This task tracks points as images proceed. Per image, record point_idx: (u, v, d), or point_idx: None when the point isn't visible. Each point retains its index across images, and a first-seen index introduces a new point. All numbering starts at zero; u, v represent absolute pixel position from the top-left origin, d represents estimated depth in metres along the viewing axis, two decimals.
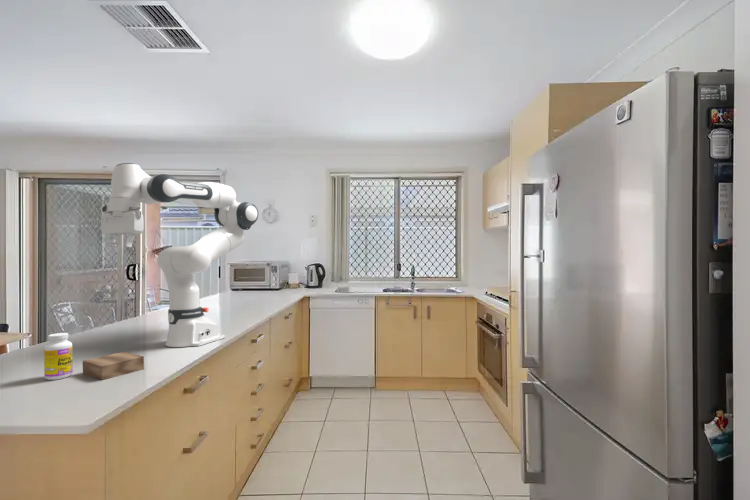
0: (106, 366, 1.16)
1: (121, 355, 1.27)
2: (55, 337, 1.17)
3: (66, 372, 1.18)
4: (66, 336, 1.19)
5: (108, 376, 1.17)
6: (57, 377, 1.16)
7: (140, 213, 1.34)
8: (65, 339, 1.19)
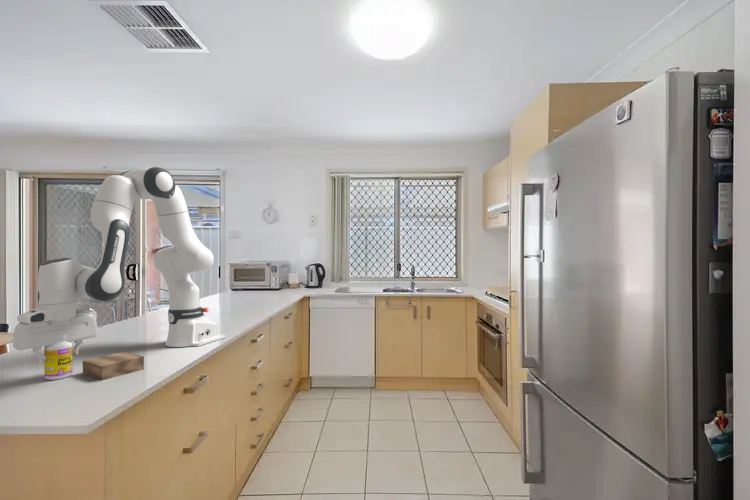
0: (106, 366, 1.16)
1: (121, 355, 1.27)
2: (55, 337, 1.17)
3: (66, 372, 1.18)
4: (66, 336, 1.19)
5: (108, 376, 1.17)
6: (57, 377, 1.16)
7: None
8: None
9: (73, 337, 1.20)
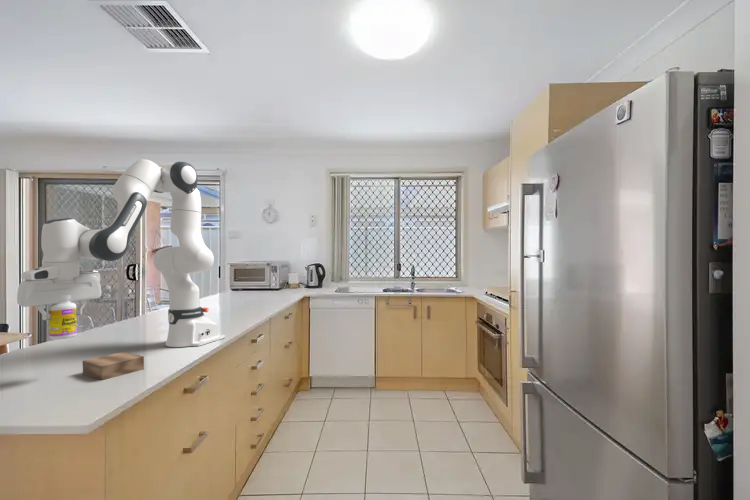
0: (106, 366, 1.16)
1: (121, 355, 1.27)
2: (59, 297, 1.17)
3: (70, 332, 1.18)
4: (70, 297, 1.19)
5: (108, 376, 1.17)
6: (61, 337, 1.17)
7: None
8: None
9: (77, 297, 1.21)
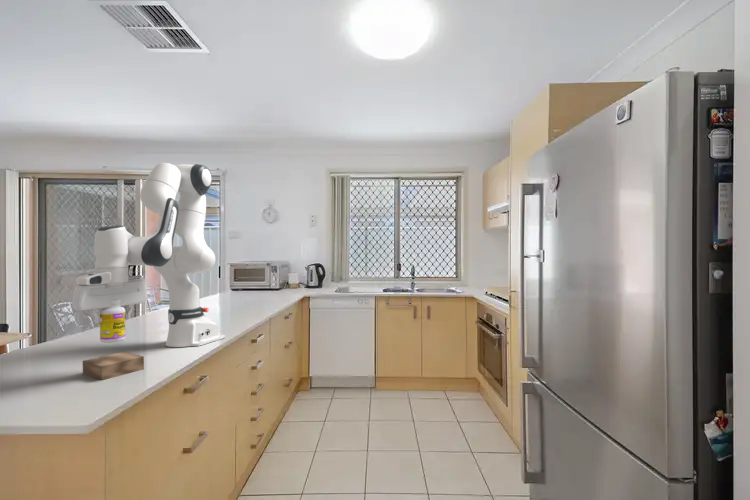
0: (106, 366, 1.16)
1: (121, 355, 1.27)
2: (110, 302, 1.21)
3: (120, 336, 1.22)
4: (120, 301, 1.23)
5: (108, 376, 1.17)
6: (112, 340, 1.21)
7: None
8: (119, 304, 1.23)
9: (126, 301, 1.25)
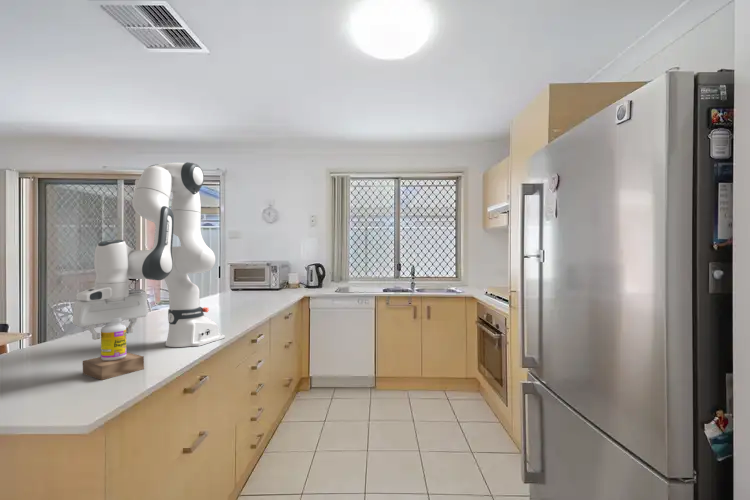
0: (106, 366, 1.16)
1: None
2: (111, 320, 1.21)
3: (121, 354, 1.22)
4: (121, 319, 1.24)
5: (108, 376, 1.17)
6: (113, 358, 1.21)
7: None
8: (120, 322, 1.23)
9: (126, 316, 1.25)
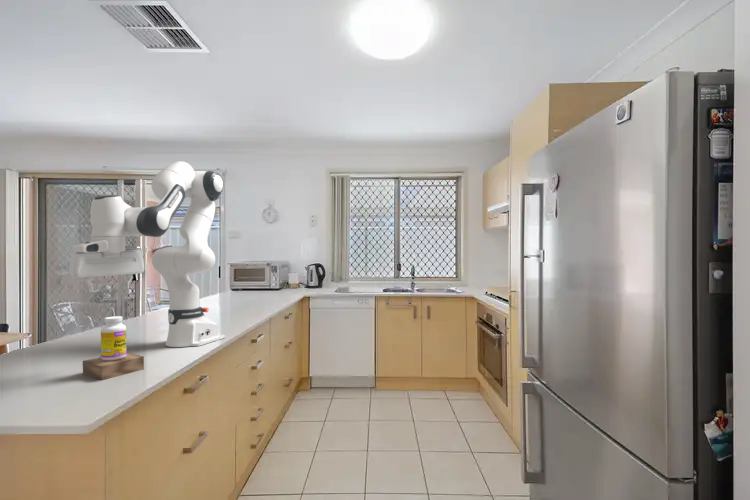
0: (106, 366, 1.16)
1: None
2: (111, 320, 1.21)
3: (121, 354, 1.22)
4: (121, 319, 1.24)
5: (108, 376, 1.17)
6: (113, 358, 1.21)
7: None
8: (120, 322, 1.23)
9: (123, 271, 1.26)
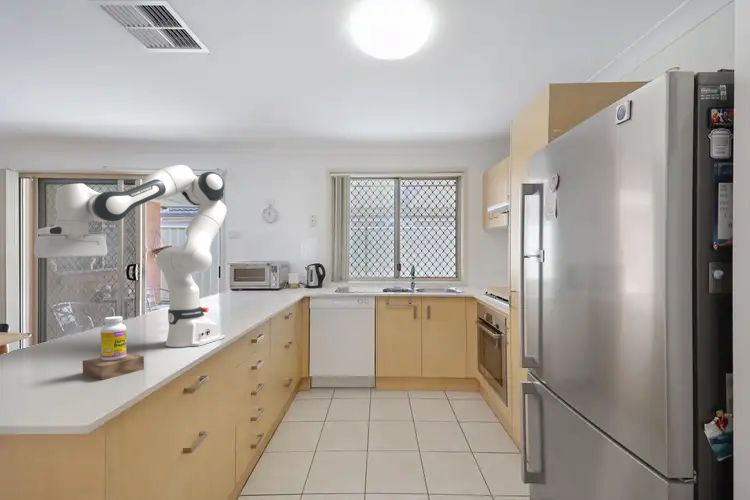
0: (106, 366, 1.16)
1: None
2: (111, 320, 1.21)
3: (121, 354, 1.22)
4: (121, 319, 1.24)
5: (108, 376, 1.17)
6: (113, 358, 1.21)
7: None
8: (120, 322, 1.23)
9: (86, 253, 1.37)
